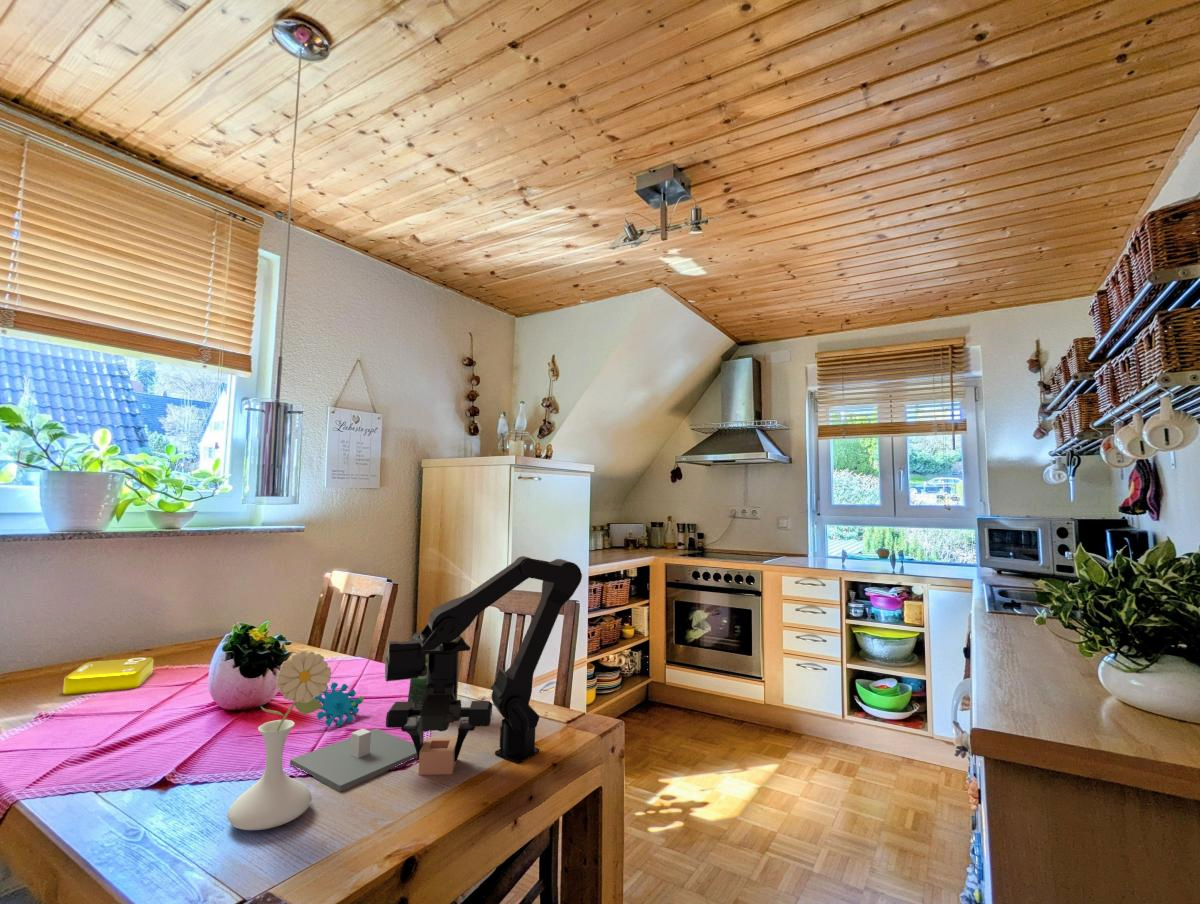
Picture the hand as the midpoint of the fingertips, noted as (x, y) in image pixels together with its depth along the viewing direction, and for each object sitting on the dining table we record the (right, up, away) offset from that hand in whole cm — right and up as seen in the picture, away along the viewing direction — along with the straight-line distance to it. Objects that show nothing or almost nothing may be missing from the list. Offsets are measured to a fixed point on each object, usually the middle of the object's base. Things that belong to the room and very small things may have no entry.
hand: (438, 761), depth 107 cm
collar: (0, -1, 0) cm, 1 cm away
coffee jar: (-9, -3, +25) cm, 27 cm away
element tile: (-96, -2, +40) cm, 104 cm away
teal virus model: (-28, -2, +20) cm, 34 cm away
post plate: (-16, -1, +2) cm, 16 cm away
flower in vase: (-20, +1, -18) cm, 27 cm away
